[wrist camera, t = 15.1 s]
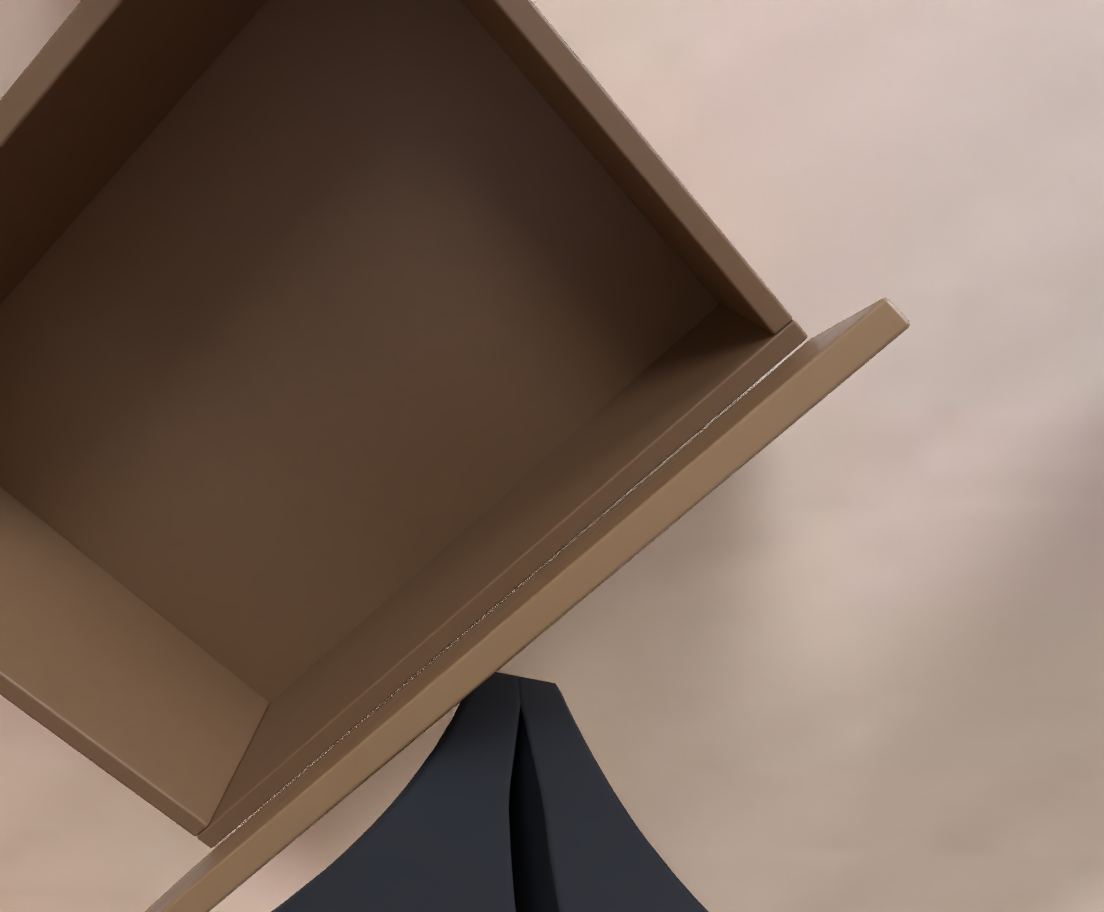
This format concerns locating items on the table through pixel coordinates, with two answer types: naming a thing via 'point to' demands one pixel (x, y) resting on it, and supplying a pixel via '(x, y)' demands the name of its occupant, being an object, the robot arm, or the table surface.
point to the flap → (543, 600)
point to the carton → (320, 362)
